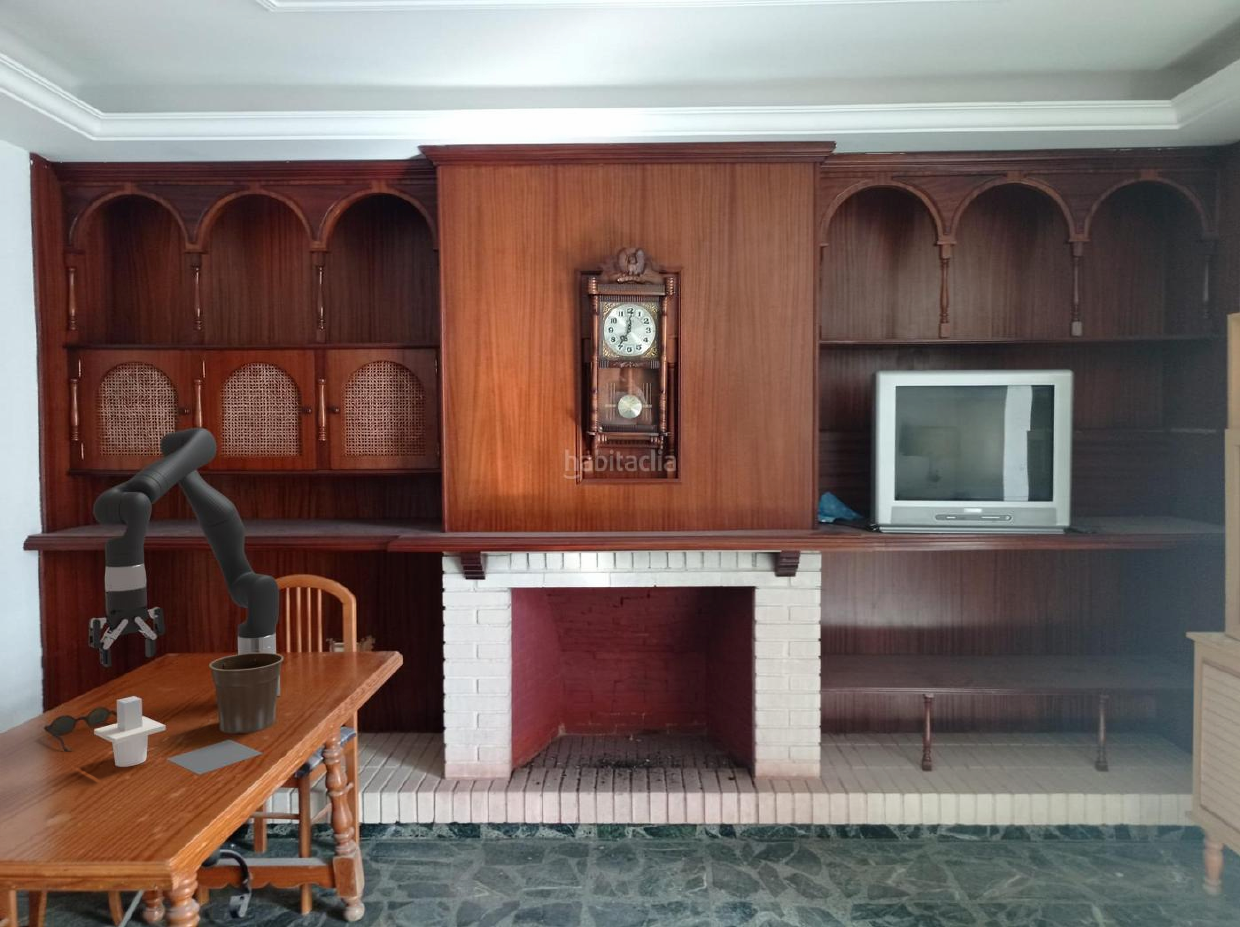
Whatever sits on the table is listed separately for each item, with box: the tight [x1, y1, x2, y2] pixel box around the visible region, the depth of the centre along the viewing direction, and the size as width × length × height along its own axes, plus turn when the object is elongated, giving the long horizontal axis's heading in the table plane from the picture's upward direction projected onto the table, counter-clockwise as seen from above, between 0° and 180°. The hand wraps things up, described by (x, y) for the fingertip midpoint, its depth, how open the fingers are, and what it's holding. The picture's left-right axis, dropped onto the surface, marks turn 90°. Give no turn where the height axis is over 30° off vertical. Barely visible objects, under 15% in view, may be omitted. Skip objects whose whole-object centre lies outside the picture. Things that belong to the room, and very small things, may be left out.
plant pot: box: [208, 653, 284, 735], centre depth 201 cm, size 16×16×16 cm
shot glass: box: [111, 735, 149, 768], centre depth 179 cm, size 7×7×7 cm
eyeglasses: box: [43, 706, 117, 753], centre depth 195 cm, size 15×15×5 cm
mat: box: [166, 739, 264, 776], centre depth 181 cm, size 14×14×1 cm
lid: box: [93, 695, 167, 744], centre depth 178 cm, size 10×10×7 cm
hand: (128, 661), depth 178 cm, fingers open, 8 cm apart
